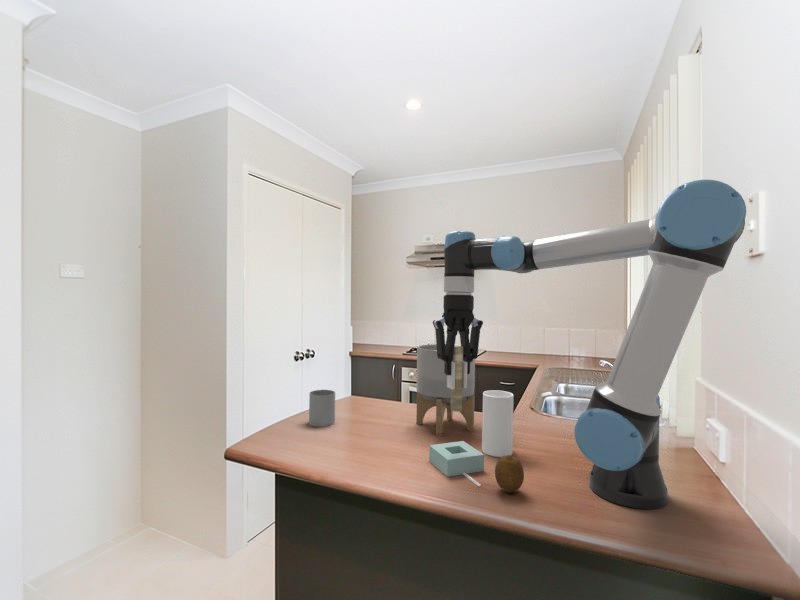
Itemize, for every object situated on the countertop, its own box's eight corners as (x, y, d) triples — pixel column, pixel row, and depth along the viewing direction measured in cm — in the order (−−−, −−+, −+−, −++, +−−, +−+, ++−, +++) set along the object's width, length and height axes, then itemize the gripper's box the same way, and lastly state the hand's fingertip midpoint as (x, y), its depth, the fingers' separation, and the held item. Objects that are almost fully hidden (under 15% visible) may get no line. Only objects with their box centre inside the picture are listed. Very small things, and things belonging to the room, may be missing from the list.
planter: (424, 415, 147) (425, 342, 147) (477, 421, 141) (478, 345, 141) (408, 432, 129) (410, 349, 129) (469, 439, 123) (470, 352, 123)
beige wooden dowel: (464, 410, 103) (465, 346, 103) (454, 411, 102) (455, 347, 102) (458, 407, 106) (459, 345, 105) (448, 408, 105) (449, 345, 104)
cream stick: (481, 486, 93) (481, 485, 93) (478, 487, 92) (478, 485, 92) (465, 473, 99) (465, 472, 99) (462, 474, 99) (462, 472, 99)
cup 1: (308, 419, 140) (308, 390, 140) (332, 418, 142) (333, 389, 142) (310, 427, 132) (311, 396, 132) (336, 425, 134) (336, 394, 134)
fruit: (488, 491, 91) (489, 454, 90) (504, 482, 95) (504, 447, 95) (514, 501, 86) (515, 463, 86) (529, 491, 90) (529, 455, 90)
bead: (483, 470, 101) (483, 454, 101) (447, 476, 97) (447, 459, 97) (463, 455, 110) (463, 440, 110) (429, 460, 107) (429, 445, 107)
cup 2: (513, 458, 109) (514, 398, 109) (481, 455, 111) (482, 396, 111) (511, 447, 117) (512, 391, 117) (482, 444, 119) (483, 389, 119)
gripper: (477, 294, 110) (476, 382, 110) (423, 293, 104) (422, 386, 104) (494, 294, 103) (492, 388, 103) (437, 293, 97) (435, 393, 97)
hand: (456, 387), depth 104 cm, fingers closed on beige wooden dowel, 3 cm apart
